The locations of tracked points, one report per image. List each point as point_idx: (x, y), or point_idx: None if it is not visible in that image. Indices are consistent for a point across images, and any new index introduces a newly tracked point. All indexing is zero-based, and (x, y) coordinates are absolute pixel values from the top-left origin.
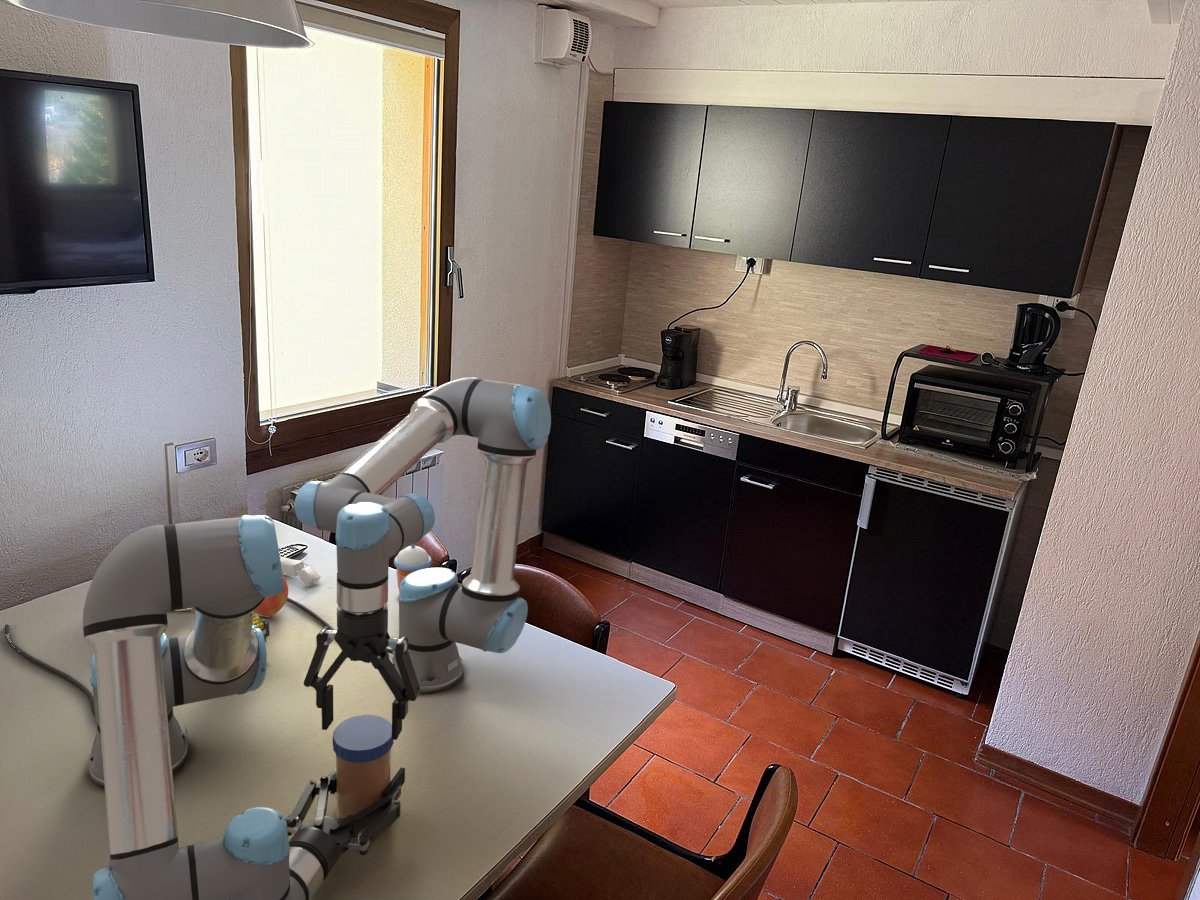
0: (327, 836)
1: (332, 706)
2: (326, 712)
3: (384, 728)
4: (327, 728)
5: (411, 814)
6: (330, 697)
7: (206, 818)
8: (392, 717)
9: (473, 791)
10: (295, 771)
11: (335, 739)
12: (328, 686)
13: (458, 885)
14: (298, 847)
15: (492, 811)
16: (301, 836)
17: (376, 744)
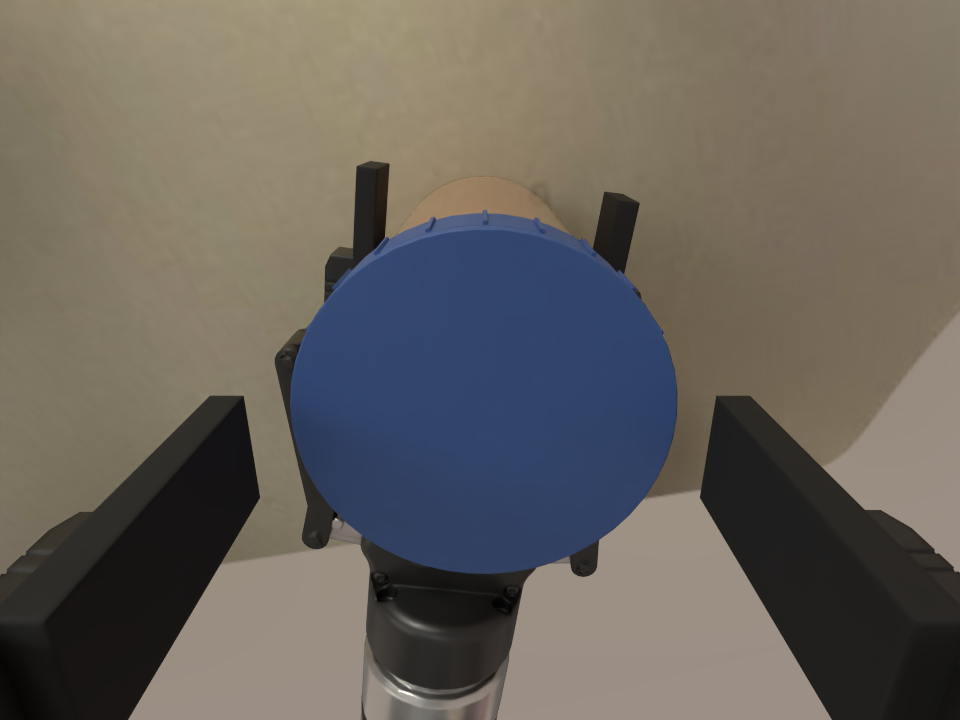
0: (488, 637)
1: (189, 478)
2: (201, 592)
3: (608, 360)
4: (256, 485)
5: (635, 224)
6: (135, 594)
7: (28, 364)
8: (780, 624)
9: (851, 48)
10: (132, 82)
11: (348, 515)
12: (14, 654)
13: (817, 458)
14: (428, 703)
15: (924, 150)
16: (414, 668)
17: (603, 511)
